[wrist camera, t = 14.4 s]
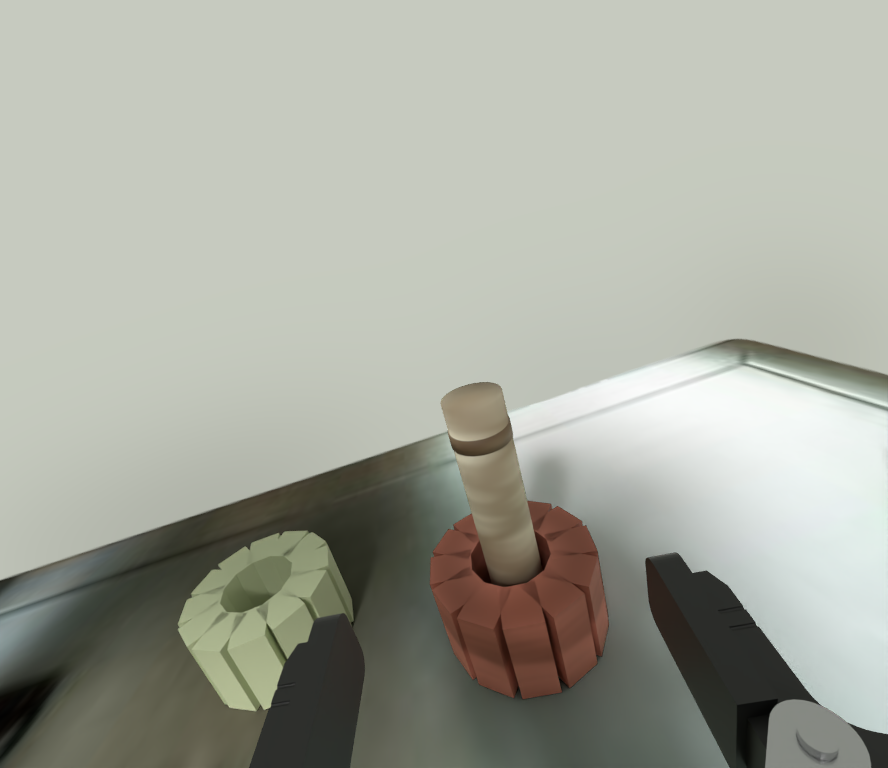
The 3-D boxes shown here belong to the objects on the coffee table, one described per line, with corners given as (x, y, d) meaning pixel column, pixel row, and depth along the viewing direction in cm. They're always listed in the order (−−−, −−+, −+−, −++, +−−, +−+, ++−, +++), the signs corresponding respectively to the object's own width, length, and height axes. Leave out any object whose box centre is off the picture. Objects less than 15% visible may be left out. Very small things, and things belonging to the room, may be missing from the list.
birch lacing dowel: (506, 647, 25) (439, 417, 20) (499, 602, 28) (439, 391, 23) (560, 637, 25) (507, 401, 20) (547, 593, 28) (498, 376, 23)
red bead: (453, 711, 23) (428, 644, 21) (450, 574, 31) (431, 518, 30) (633, 679, 22) (623, 606, 20) (579, 547, 31) (569, 488, 29)
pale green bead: (200, 738, 25) (157, 678, 23) (230, 612, 33) (200, 562, 32) (358, 668, 26) (329, 608, 25) (348, 565, 35) (326, 514, 33)
